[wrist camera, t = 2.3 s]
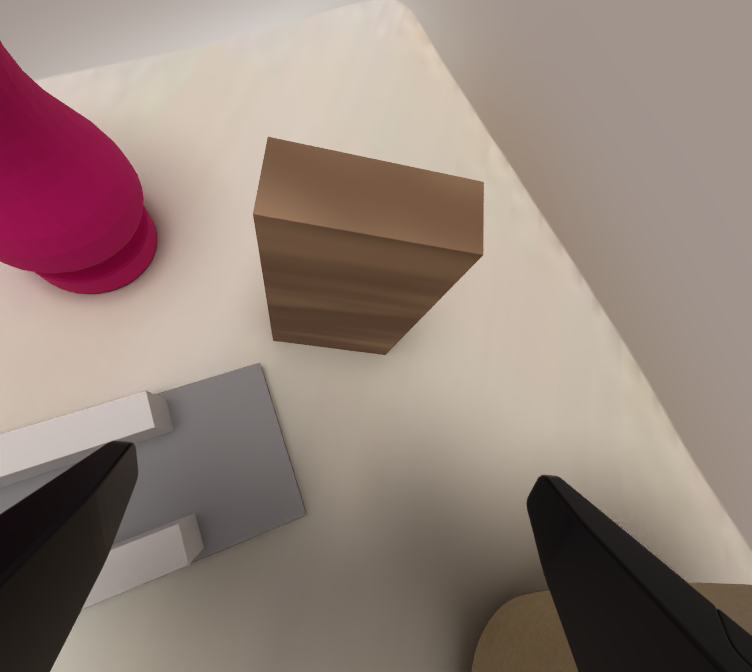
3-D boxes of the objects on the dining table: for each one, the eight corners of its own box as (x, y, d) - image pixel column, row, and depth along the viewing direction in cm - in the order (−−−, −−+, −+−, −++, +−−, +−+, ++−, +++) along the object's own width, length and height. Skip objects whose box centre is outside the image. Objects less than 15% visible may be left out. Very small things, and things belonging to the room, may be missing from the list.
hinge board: (305, 511, 21) (308, 525, 17) (-137, 696, 16) (-269, 771, 12) (261, 366, 22) (254, 349, 19) (-156, 493, 18) (-279, 505, 14)
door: (385, 354, 24) (483, 255, 12) (273, 340, 23) (253, 214, 11) (389, 299, 25) (483, 154, 13) (282, 283, 24) (273, 108, 12)
